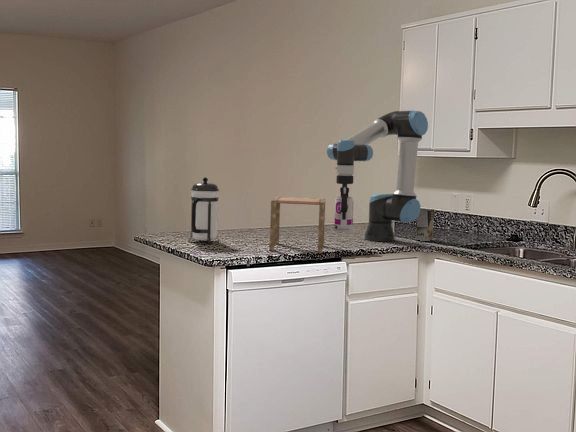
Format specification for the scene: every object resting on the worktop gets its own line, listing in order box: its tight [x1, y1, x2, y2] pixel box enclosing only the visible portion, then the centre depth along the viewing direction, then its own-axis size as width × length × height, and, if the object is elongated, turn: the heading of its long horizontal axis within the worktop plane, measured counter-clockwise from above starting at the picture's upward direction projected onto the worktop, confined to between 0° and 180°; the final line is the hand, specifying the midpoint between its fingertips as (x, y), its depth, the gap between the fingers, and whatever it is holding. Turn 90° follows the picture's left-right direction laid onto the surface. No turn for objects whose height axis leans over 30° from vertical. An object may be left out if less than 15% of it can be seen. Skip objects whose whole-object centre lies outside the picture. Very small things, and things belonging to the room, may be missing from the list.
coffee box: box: [415, 208, 435, 242], centre depth 351 cm, size 9×6×16 cm
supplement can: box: [333, 196, 354, 233], centre depth 309 cm, size 8×8×15 cm
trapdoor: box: [277, 196, 320, 206], centre depth 310 cm, size 18×18×2 cm
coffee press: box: [187, 176, 220, 245], centre depth 318 cm, size 17×16×30 cm
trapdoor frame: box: [269, 196, 326, 254], centre depth 311 cm, size 23×23×22 cm
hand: (343, 225), depth 309 cm, fingers closed on supplement can, 8 cm apart
